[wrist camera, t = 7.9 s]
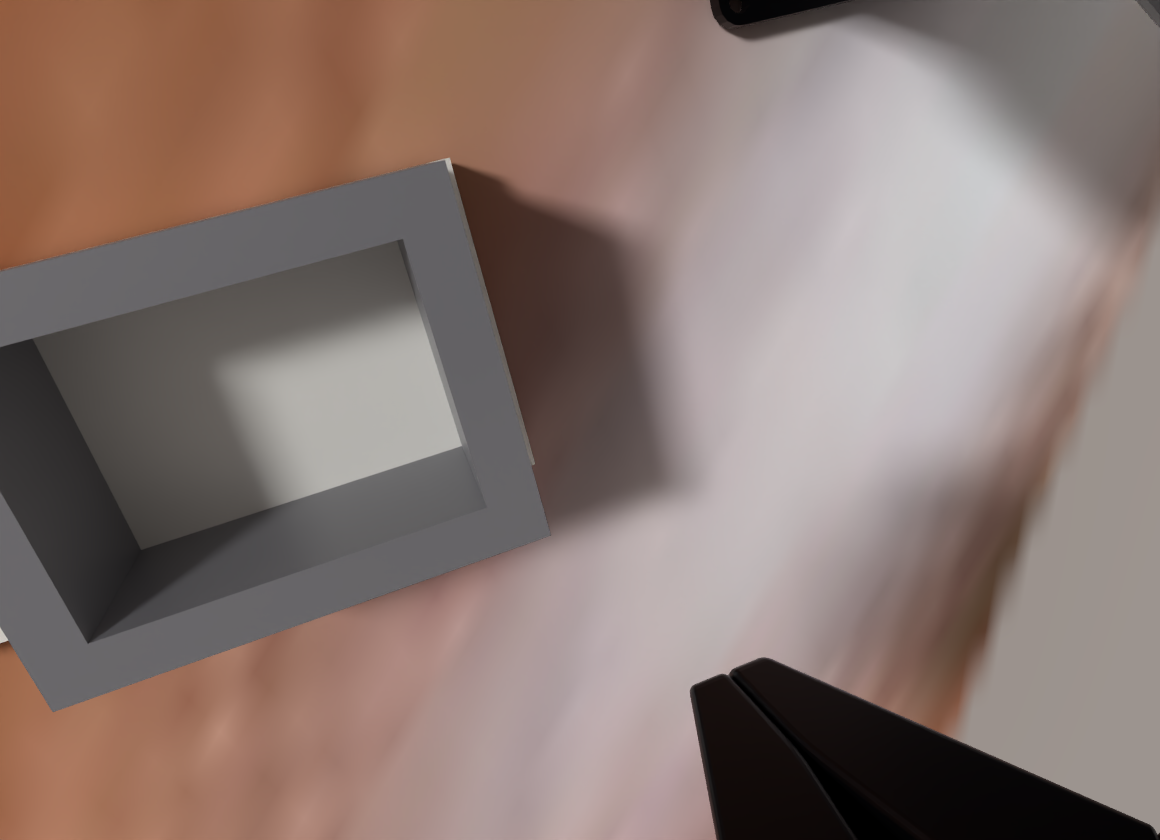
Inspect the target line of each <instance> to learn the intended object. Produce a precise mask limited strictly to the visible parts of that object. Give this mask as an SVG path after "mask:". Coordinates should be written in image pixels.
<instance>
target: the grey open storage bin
mask: <svg viewBox="0 0 1160 840" xmlns="http://www.w3.org/2000/svg"><path fill="white" fill-rule="evenodd" d="M534 464H535V461H534V457H533V454H532V450H531V447H530V443H529V440H528V436H527V432H526V429H525V425H524V422H523V418H522V415H521V411H520V407H519V404H518V400H517V397H516V393H515V390H514V386H513V382H512V379H511V375H510V372H509V368H508V365H507V361H506V357H505V354H504V350H503V347H502V343H501V340H500V336H499V332H498V329H497V325H496V322H495V318H494V315H493V311H492V307H491V304H490V300H489V297H488V293H487V290H486V286H485V282H484V279H483V275H482V272H481V268H480V265H479V261H478V257H477V254H476V250H475V247H474V243H473V240H472V236H471V232H470V229H469V225H468V222H467V218H466V215H465V211H464V207H463V204H462V200H461V197H460V193H459V190H458V186H457V182H456V179H455V175H454V172H453V168H452V165H451V161H450V158H446V159H441V160H437V161H433V162H429V163H425V164H421V165H418V166H414V167H410V168H406V169H402V170H398V171H394V172H390V173H386V174H382V175H378V176H374V177H370V178H366V179H362V180H358V181H354V182H350V183H346V184H342V185H338V186H334V187H330V188H326V189H322V190H318V191H314V192H310V193H306V194H302V195H298V196H294V197H290V198H286V199H282V200H278V201H274V202H270V203H266V204H262V205H258V206H254V207H250V208H246V209H242V210H238V211H234V212H230V213H226V214H222V215H218V216H214V217H210V218H207V219H203V220H199V221H195V222H191V223H187V224H183V225H179V226H175V227H171V228H167V229H163V230H159V231H155V232H151V233H147V234H143V235H139V236H135V237H131V238H127V239H123V240H119V241H115V242H111V243H107V244H103V245H99V246H95V247H91V248H87V249H83V250H79V251H75V252H71V253H67V254H63V255H59V256H55V257H51V258H47V259H43V260H39V261H35V262H31V263H27V264H23V265H19V266H15V267H11V268H7V269H3V270H0V643H3V642H6V641H9V642H10V644H11V645H12V647H13V649H14V650H15V652H16V654H17V655H18V657H19V658H20V660H21V662H22V663H23V665H24V666H25V668H26V670H27V671H28V673H29V675H30V676H31V678H32V679H33V681H34V683H35V684H36V686H37V687H38V689H39V691H40V692H41V694H42V695H43V697H44V699H45V700H46V702H47V704H48V705H49V707H50V708H51V710H52V712H55V711H58V710H60V709H63V708H66V707H69V706H72V705H74V704H77V703H80V702H83V701H86V700H89V699H91V698H94V697H97V696H100V695H103V694H105V693H108V692H111V691H114V690H117V689H120V688H122V687H125V686H128V685H131V684H134V683H136V682H139V681H142V680H145V679H148V678H151V677H153V676H156V675H159V674H162V673H165V672H167V671H170V670H173V669H176V668H179V667H182V666H184V665H187V664H190V663H193V662H196V661H198V660H201V659H204V658H207V657H210V656H213V655H215V654H218V653H221V652H224V651H227V650H230V649H232V648H235V647H238V646H241V645H244V644H246V643H249V642H252V641H255V640H258V639H261V638H263V637H266V636H269V635H272V634H275V633H277V632H280V631H283V630H286V629H289V628H292V627H294V626H297V625H300V624H303V623H306V622H308V621H311V620H314V619H317V618H320V617H323V616H325V615H328V614H331V613H334V612H337V611H339V610H342V609H345V608H348V607H351V606H354V605H356V604H359V603H362V602H365V601H368V600H370V599H373V598H376V597H379V596H382V595H385V594H387V593H390V592H393V591H396V590H399V589H401V588H404V587H407V586H410V585H413V584H416V583H418V582H421V581H424V580H427V579H430V578H433V577H435V576H438V575H441V574H444V573H447V572H449V571H452V570H455V569H458V568H461V567H464V566H466V565H469V564H472V563H475V562H478V561H480V560H483V559H486V558H489V557H492V556H495V555H497V554H500V553H503V552H506V551H509V550H511V549H514V548H517V547H520V546H523V545H526V544H528V543H531V542H534V541H537V540H540V539H542V538H545V537H548V536H551V534H550V530H549V526H548V523H547V519H546V516H545V512H544V509H543V505H542V502H541V498H540V495H539V491H538V488H537V484H536V480H535V477H534V473H533V470H532V466H531V465H534Z"/></svg>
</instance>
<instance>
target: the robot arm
mask: <svg viewBox="0 0 1160 840" xmlns="http://www.w3.org/2000/svg"><path fill="white" fill-rule="evenodd" d="M849 1H853V0H741V2H742V3H741V10H740V11H739V13H735V12H734V11H733V10H732V9H731V7H730V4H729V0H710V3H711V9H712V12H713V16H714V18H715V19H716V21H717V22H718V23H719V24H720V25H721V26H723V27H725V28H739V27H743V26H747V25H751V24H756V23H760V22H764V21H768V20H773V19H777V18H781V17H785V16H790V15H794V14H798V13H802V12H807V11H811V10H815V9H819V8H824V7H828V6H832V5H836V4H841V3H845V2H849ZM1136 1H1137V2H1138V4H1139V5H1140V6H1141V7H1142V8H1143V10H1144V11H1145V12H1146V13H1147V14H1148V15H1149V17H1150V18H1151V19H1152V20H1153V21H1154V22H1155V24H1156V25H1158V26H1159V27H1160V0H1136ZM690 697H691V702H692V708H693V713H694V719H695V724H696V730H697V735H698V741H699V746H700V752H701V757H702V763H703V768H704V773H705V779H706V784H707V790H708V795H709V801H710V806H711V812H712V817H713V823H714V828H715V834H716V839H717V840H1160V833H1159V834H1158V835H1157V833H1156V831H1155V829H1154V828H1153V827H1152V826H1151V825H1149V824H1147V823H1144V822H1142V821H1140V820H1138V819H1135V818H1133V817H1131V816H1128V815H1126V814H1124V813H1122V812H1119V811H1117V810H1115V809H1113V808H1110V807H1108V806H1106V805H1103V804H1101V803H1099V802H1097V801H1094V800H1092V799H1090V798H1087V797H1085V796H1083V795H1081V794H1078V793H1076V792H1073V791H1071V790H1069V789H1067V788H1065V787H1062V786H1060V785H1058V784H1055V783H1053V782H1051V781H1049V780H1046V779H1044V778H1042V777H1040V776H1037V775H1035V774H1033V773H1030V772H1028V771H1026V770H1024V769H1021V768H1019V767H1017V766H1014V765H1012V764H1010V763H1008V762H1005V761H1003V760H1001V759H998V758H996V757H994V756H992V755H989V754H987V753H985V752H983V751H980V750H978V749H976V748H973V747H971V746H969V745H967V744H964V743H962V742H960V741H957V740H955V739H953V738H951V737H948V736H946V735H944V734H941V733H939V732H937V731H935V730H932V729H930V728H928V727H925V726H923V725H921V724H919V723H916V722H914V721H912V720H910V719H907V718H905V717H903V716H900V715H898V714H896V713H894V712H891V711H889V710H887V709H884V708H882V707H880V706H878V705H875V704H873V703H871V702H868V701H866V700H864V699H862V698H859V697H857V696H855V695H852V694H850V693H848V692H846V691H843V690H841V689H839V688H836V687H834V686H832V685H830V684H827V683H825V682H823V681H821V680H818V679H816V678H814V677H811V676H809V675H807V674H805V673H802V672H800V671H798V670H795V669H793V668H791V667H789V666H786V665H784V664H782V663H779V662H777V661H775V660H773V659H770V658H764V657H763V658H758V659H756V660H753V661H751V662H748V663H746V664H744V665H741V666H739V667H736V668H734V669H732V670H731V672H730V673H729V675H726V674H719V675H717V676H714V677H712V678H709V679H707V680H704V681H702V682H700V683H697V684H695V685H693V686H692V687H691V689H690Z"/></svg>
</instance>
